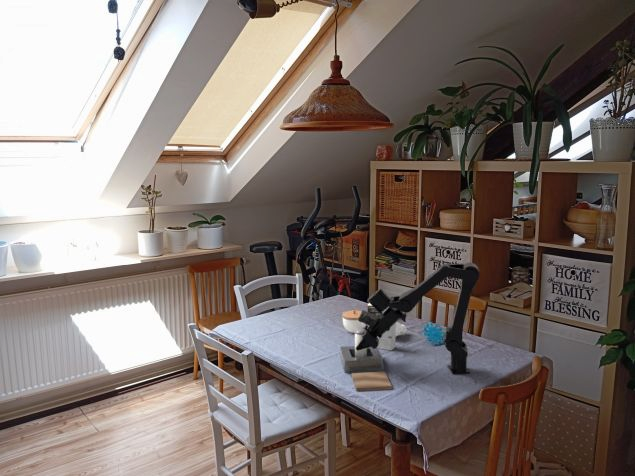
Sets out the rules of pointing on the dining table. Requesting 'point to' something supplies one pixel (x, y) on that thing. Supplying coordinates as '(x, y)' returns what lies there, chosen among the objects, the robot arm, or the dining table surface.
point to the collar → (361, 360)
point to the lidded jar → (352, 321)
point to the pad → (371, 381)
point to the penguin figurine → (400, 329)
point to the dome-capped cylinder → (357, 340)
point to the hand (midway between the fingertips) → (357, 347)
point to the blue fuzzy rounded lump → (434, 333)
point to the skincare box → (388, 339)
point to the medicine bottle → (373, 309)
